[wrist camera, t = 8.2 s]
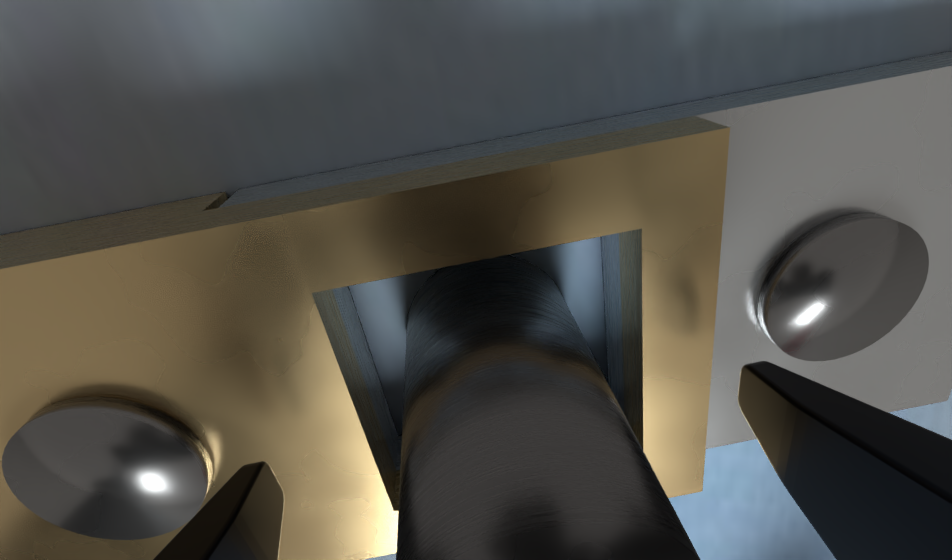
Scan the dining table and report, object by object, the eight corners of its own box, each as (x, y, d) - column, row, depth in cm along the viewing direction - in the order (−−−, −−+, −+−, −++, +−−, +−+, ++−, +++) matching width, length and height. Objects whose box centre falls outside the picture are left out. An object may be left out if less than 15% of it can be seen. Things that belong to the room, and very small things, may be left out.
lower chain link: (908, 372, 14) (961, 410, 13) (360, 483, 14) (353, 533, 13) (1015, 38, 10) (1110, 40, 9) (239, 188, 10) (209, 215, 9)
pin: (571, 373, 13) (703, 676, 7) (426, 402, 13) (431, 733, 7) (558, 239, 11) (721, 491, 5) (389, 272, 11) (350, 568, 5)
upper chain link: (660, 422, 14) (710, 504, 12) (106, 533, 14) (40, 640, 12) (665, 106, 10) (743, 132, 8) (-122, 259, 10) (-300, 335, 8)
